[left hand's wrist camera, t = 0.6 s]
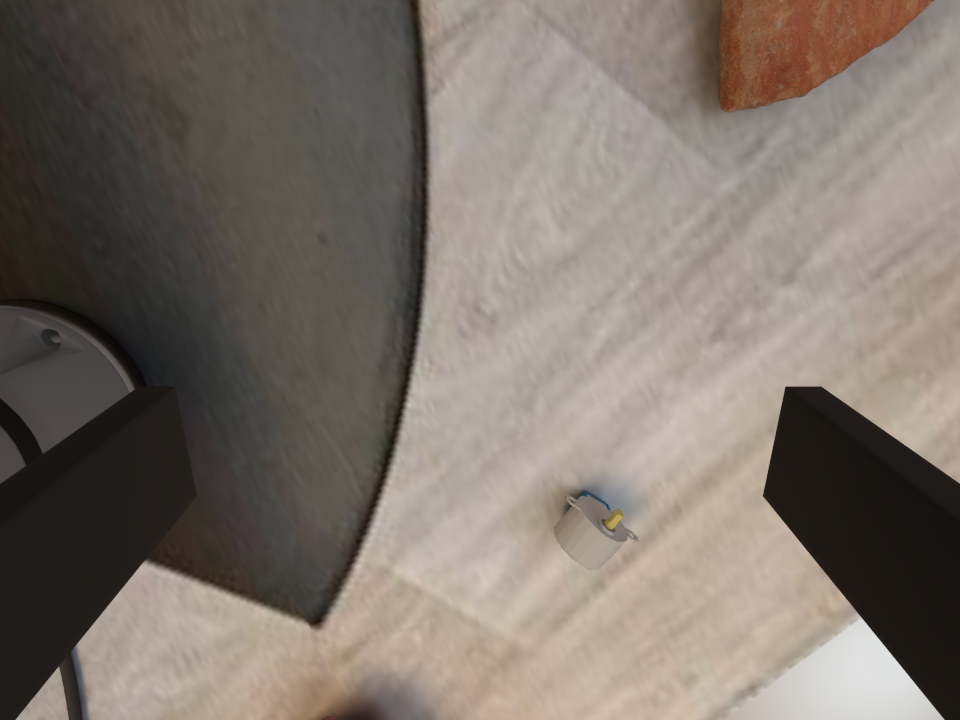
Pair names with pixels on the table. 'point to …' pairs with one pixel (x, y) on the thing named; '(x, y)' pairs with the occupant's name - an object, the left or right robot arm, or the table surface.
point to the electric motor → (591, 531)
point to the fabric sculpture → (328, 718)
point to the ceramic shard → (798, 44)
